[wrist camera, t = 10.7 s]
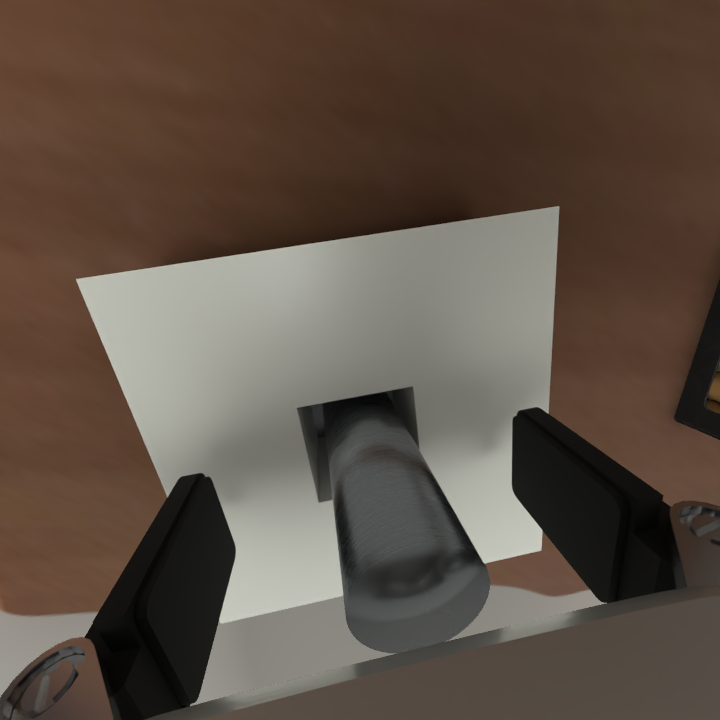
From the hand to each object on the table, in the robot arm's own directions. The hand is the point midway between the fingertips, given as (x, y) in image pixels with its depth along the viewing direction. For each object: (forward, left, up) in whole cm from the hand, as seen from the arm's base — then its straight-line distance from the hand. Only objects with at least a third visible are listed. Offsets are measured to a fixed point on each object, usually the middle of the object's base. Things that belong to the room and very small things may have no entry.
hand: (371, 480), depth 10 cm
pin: (0, 0, -6) cm, 6 cm away
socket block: (0, 0, -7) cm, 7 cm away
